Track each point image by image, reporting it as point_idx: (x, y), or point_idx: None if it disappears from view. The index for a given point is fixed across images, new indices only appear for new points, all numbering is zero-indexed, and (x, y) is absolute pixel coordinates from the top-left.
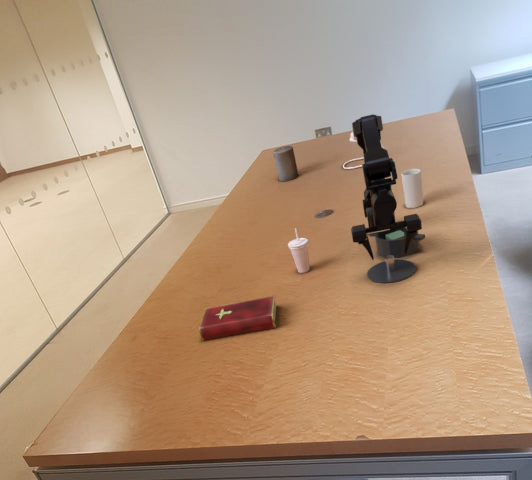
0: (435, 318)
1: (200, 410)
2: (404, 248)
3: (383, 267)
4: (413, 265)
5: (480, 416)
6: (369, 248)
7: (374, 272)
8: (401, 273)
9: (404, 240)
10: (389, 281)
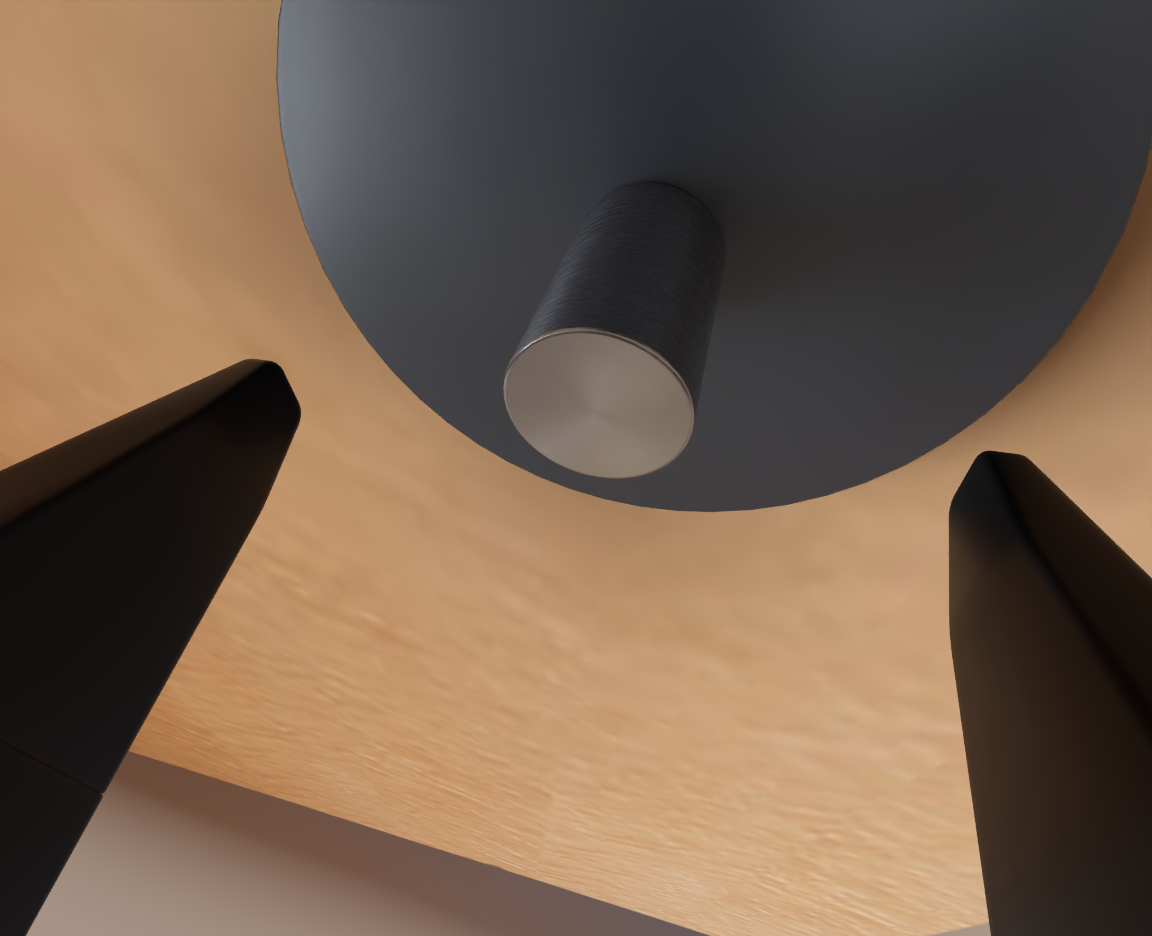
0: (786, 797)
1: None
2: (981, 592)
3: (531, 75)
4: (1079, 255)
5: (727, 931)
6: (112, 731)
7: (397, 207)
8: (768, 412)
9: (1103, 818)
10: (594, 495)
